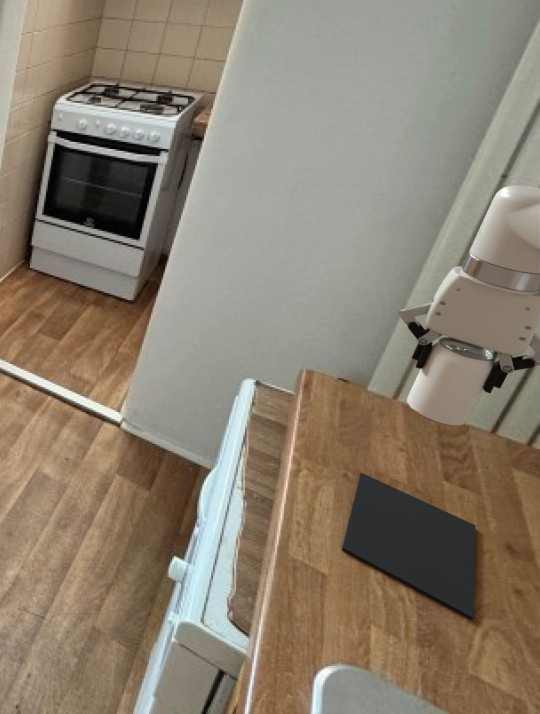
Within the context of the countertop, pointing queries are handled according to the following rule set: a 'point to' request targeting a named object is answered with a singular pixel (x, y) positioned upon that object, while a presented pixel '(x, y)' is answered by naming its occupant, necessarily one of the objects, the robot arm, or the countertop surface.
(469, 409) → the can
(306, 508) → the countertop surface
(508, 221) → the robot arm
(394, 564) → the mat
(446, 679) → the countertop surface
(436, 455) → the countertop surface
